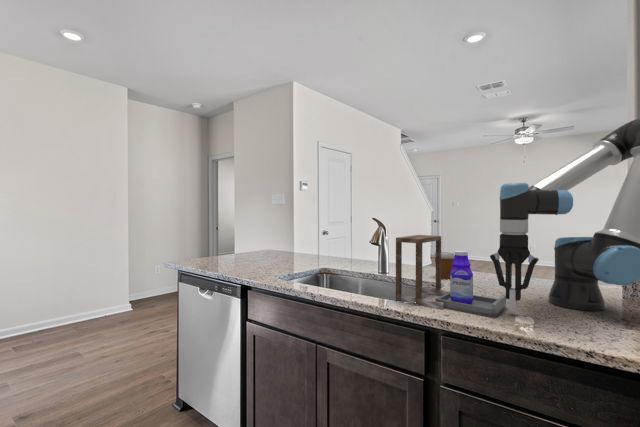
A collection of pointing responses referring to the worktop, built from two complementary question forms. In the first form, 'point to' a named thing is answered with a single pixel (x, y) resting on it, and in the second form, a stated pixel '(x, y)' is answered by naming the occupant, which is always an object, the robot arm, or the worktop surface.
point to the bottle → (461, 279)
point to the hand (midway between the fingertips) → (513, 310)
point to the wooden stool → (419, 271)
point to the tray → (476, 305)
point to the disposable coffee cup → (446, 264)
